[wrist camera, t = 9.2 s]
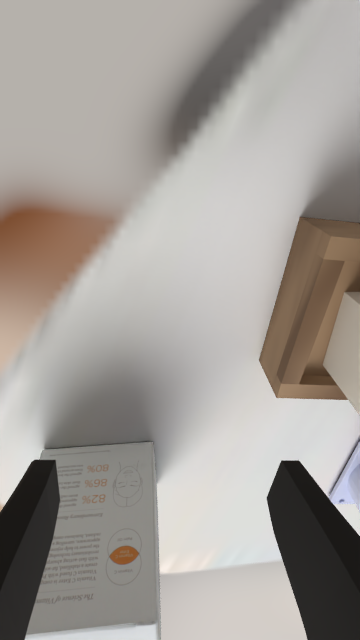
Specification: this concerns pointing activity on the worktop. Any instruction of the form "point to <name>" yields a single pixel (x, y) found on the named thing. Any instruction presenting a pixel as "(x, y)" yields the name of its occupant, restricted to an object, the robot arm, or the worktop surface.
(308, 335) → the wooden square tray
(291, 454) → the worktop surface
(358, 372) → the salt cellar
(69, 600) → the small box
